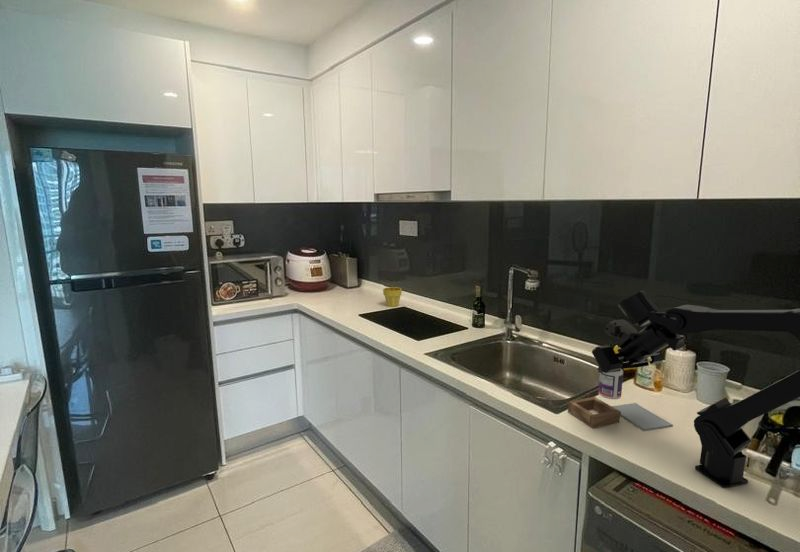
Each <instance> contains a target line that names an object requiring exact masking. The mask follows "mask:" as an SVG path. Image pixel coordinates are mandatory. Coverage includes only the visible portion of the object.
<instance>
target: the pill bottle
mask: <svg viewBox="0 0 800 552" xmlns="http://www.w3.org/2000/svg"><path fill="white" fill-rule="evenodd" d="M620 370H621V371H616V372H609V373H604V372H602V373H600V372H599V378H598V379H599V381H598V394H599V395H600V397H602V398H605V399H606V400H619V399H621V397H622V391H623V380H624V370H623V369H620Z"/></svg>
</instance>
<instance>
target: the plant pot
mask: <svg viewBox="0 0 800 552" xmlns="http://www.w3.org/2000/svg"><path fill="white" fill-rule="evenodd" d="M382 293H383V294H382V295H384V298H385V304H386V306H387V307H390V308H395V307H398V306H399V304H400V298H401V296H402V288H401V287H397V286H396V287H395V286H391V287H389V286H388V287H384V288H383V290H382Z"/></svg>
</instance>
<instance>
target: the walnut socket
mask: <svg viewBox="0 0 800 552" xmlns="http://www.w3.org/2000/svg"><path fill="white" fill-rule="evenodd" d="M567 403H568V405H567V406H568V407H567V412H568V413H569V414H571V415H572V416H574V417H575V418H576V419H578V420H579V421H581V422H583V423H585V424H586V425H587V426H588V427H590V428H592V429H597V428H600V427H605V426H609V425H614V424H618V423H620V422H621V416H620V415H621V411H619V410H617V409H615V408H613V407H612V406H613V405H610V404H608V403H606V402H604V401H603V400H601V399H599V398H597V397H596V396H589V397H586V398H580V399H575V400H571V401H568V402H567ZM591 410H593V411H596V412H597V413H593V412H591Z"/></svg>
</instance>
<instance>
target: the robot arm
mask: <svg viewBox="0 0 800 552" xmlns="http://www.w3.org/2000/svg"><path fill="white" fill-rule="evenodd" d="M617 306H618V308H619V309H620V310H621V311H622V313H623V314H624V315H625V316H626V318H627V319H628V320H629V321H630V322H629V321H627V320H625V319H615V320H614V319H613V320H611V321H609V322H608V323H607V324H605V325H604V326H605V327H604V332H605V333H606V334H607V335H608V336H609V337H611V338H614V339H615V340H617V342H615V344H616V345H617V347H618V348H617V349H616V351H617V353H616V352H615V350H614V349H613V347H612V346H610V345H609V344H604V345H599V346H596V347H595V348H593V349H592V350H591V353H592V355H593V357H594V359H595V361H596V362H597V365H598V367H597V371H598V372H599V374H600V373H602V372H604V373H609V372H616V371H621V370H620V369H622V370H625V369H632V368H633V369H634V368H643V367H648V366H649V365H657V364H660V363H662V362H663V361H664V360H665V359H664V358H665V355H664V353H663V352H662V349H665V348H666V347H668V346H669V348H670V349H671V350H672V351H674V352H676V351H678V350H680V349H683V348H685V345H686V344H685V337H684V336H682V335H686V334H695V333H701V332H708V331H715V330H716V331H717V330H718V331H720V330H721V331H746V332H747V331H750V332H753V331H754V332H755V331H756V332H757V331H758V332H782V333H783V332H785V333H786V332H787V333H790V335H792V336H793V337H795V339H797V340H798V341H799V342H800V308H794V309H717V308H716V309H715V308H711V307H707V306H702V305H701V306H700V305H696V304H695V305H692V304H684V305H680V306H677V307H676V306H675V307H663V308H659V307H658V306H657V305H656V304H655V303H654V301H653V300H652V299H651V297H650V296H649V294H648V293H647V292H646V290H641V291H638V292H637V293H635V294H633V295H631V296H629V297H628V298H624V299H623V300H621V301H620V302H619V303H618V305H617ZM646 325H647V326H646ZM634 326H639V327H641V328H642V327H643V326H645V327H644V328H643V329H641V330H640V331H638V330H637V329H636V327H634ZM648 358H650V359H651V360H650V361H649V359H648ZM797 399H800V370H797V371H795V372H793V373H792V374H789V375H787V376H785V377H784V378H782V379H780V380H777V381H776V382H774V383H772V384H770V385H769V386H766V387H765V388H764V387H763V389H760V390H758V391H756V392H755V393H753V394H751V395H749V396H747V397H745V398H743V399H741V400H740V401H734V402H730V401H729V399H728V398H727V397H726V396H725V397H723V398H722V399H720V400H718V401H716V402H714V403H712V404H710V405H708V406H707V407H705V408H703V409H701V410H699V411H697V412H696V414H697V416H696V417H695V418H694V420H693V427H694V431H695V432H696V433H697V435H698V436H699V440H700V444H701V449H700V451H701V452H700V456H699V457H700V458H699V465H697V464H696V465H694V469H695V470H696V471H698V472H699V473H701V474H702V475H704V476H706V477H707V478H709V479H711V480H712V481H713V482H714V483H716V484H718V485H720V487H723V488H730V487H731V488H732V487H734V486H739V485H743V484H748V483H749V480H748V479H747V478H745V477H744V475H745V474H744V472H745V467H746V461H747V455H746V454H744V453H743V452H742V451H744V450H746V449H748V447H749V446H750V445H751V443H752V439H751V438H750V437H749V435H748V434H747V433H746V431H745V430H744V429H743V428H744V427H745V426H746V425H748V424H749V423H750V422H751V421H753V420H754V419H756V418H759V417H760V416H763V415H766V414H767V413H770V412H771V411H774V410H776V409H778V408H780V407H782V406H785V405H786V404H788V403H790V402H793V401H795V400H797Z"/></svg>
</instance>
